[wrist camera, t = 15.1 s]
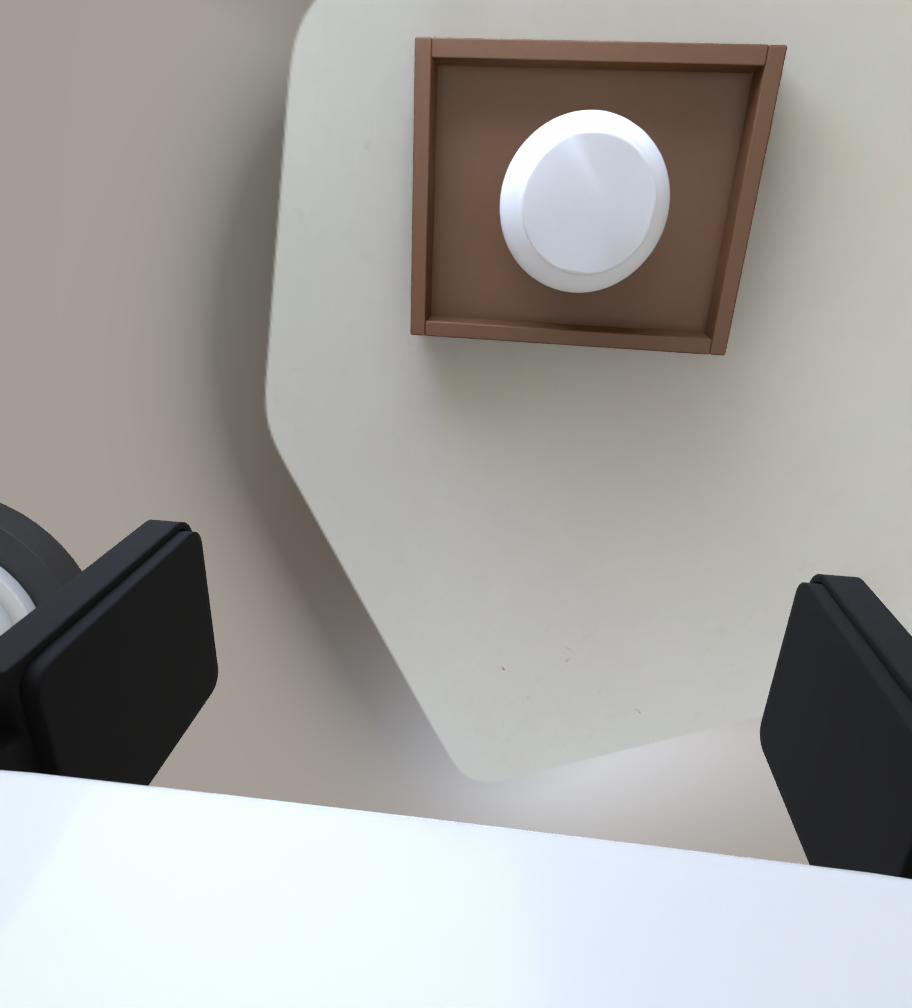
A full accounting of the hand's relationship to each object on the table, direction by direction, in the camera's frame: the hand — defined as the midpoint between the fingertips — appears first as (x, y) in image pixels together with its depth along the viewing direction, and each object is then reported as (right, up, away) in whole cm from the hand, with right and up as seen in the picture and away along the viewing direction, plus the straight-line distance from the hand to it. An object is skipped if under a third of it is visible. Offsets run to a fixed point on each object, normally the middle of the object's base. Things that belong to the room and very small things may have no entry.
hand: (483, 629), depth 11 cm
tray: (+6, +18, +25) cm, 31 cm away
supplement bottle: (+6, +17, +25) cm, 31 cm away
